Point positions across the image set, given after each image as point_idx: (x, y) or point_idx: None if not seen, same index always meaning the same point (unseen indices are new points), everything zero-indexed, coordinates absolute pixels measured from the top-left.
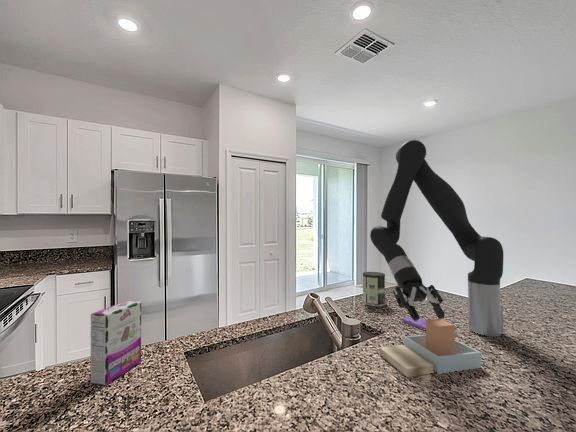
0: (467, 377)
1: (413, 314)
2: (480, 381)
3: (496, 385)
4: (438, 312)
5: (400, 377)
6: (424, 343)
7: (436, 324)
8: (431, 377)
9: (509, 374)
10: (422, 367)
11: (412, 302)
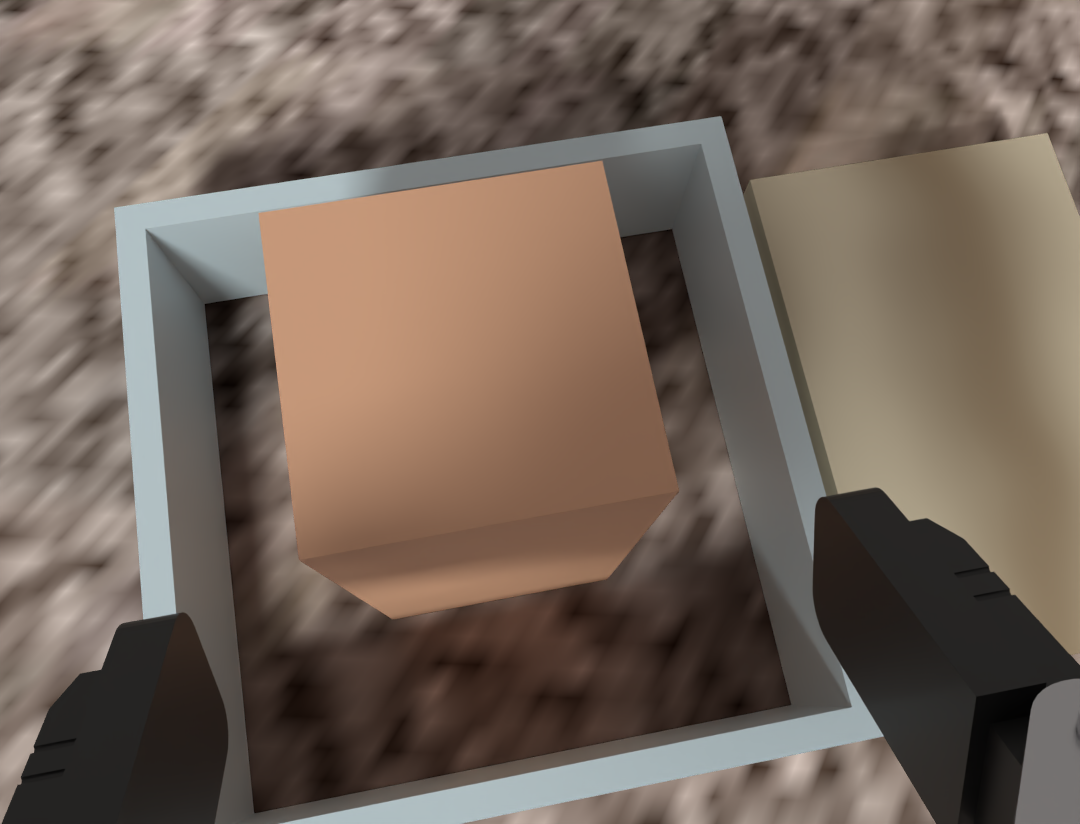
0: (451, 147)
1: (962, 553)
2: (382, 88)
3: (293, 32)
4: (182, 752)
5: (1067, 179)
6: (533, 762)
7: (593, 250)
8: (784, 164)
9: (6, 169)
10: (875, 161)
11: (1041, 783)
